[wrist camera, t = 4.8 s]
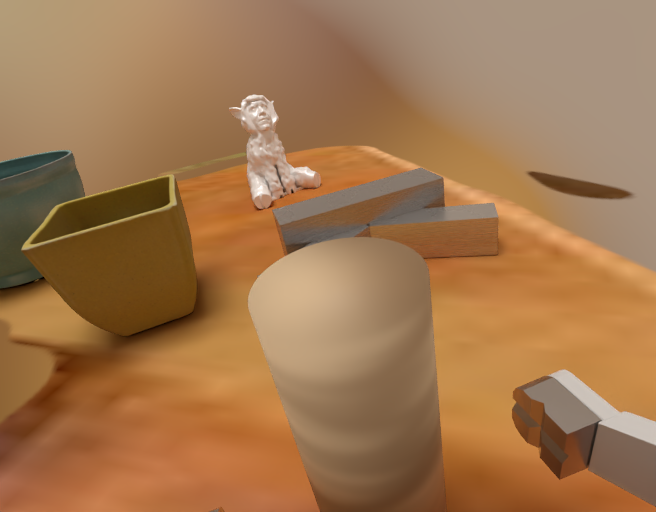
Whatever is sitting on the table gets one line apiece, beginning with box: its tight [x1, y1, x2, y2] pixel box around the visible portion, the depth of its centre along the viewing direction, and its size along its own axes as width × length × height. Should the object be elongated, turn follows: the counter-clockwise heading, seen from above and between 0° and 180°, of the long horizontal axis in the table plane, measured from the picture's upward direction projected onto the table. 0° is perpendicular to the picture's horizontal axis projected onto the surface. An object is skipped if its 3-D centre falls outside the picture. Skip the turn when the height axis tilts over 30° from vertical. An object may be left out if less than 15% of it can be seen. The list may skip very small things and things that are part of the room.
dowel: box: [248, 237, 447, 512], centre depth 11 cm, size 4×4×11 cm
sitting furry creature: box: [229, 95, 321, 209], centre depth 48 cm, size 10×9×12 cm
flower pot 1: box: [0, 150, 85, 288], centre depth 41 cm, size 16×16×11 cm
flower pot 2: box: [21, 174, 197, 336], centre depth 28 cm, size 9×9×9 cm
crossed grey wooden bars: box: [257, 168, 498, 278], centre depth 29 cm, size 18×8×5 cm, turn 106°
